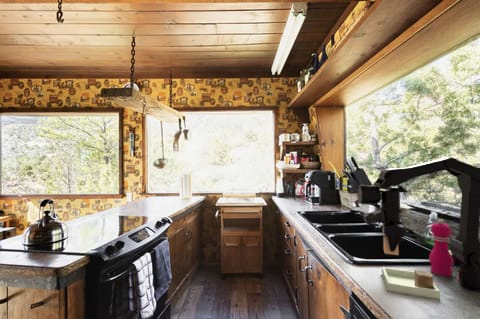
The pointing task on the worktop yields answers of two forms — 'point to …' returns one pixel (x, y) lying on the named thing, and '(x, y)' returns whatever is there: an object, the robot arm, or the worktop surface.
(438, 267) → the pepper mill
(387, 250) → the peach block
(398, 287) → the tray
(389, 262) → the worktop surface
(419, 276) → the walnut block
